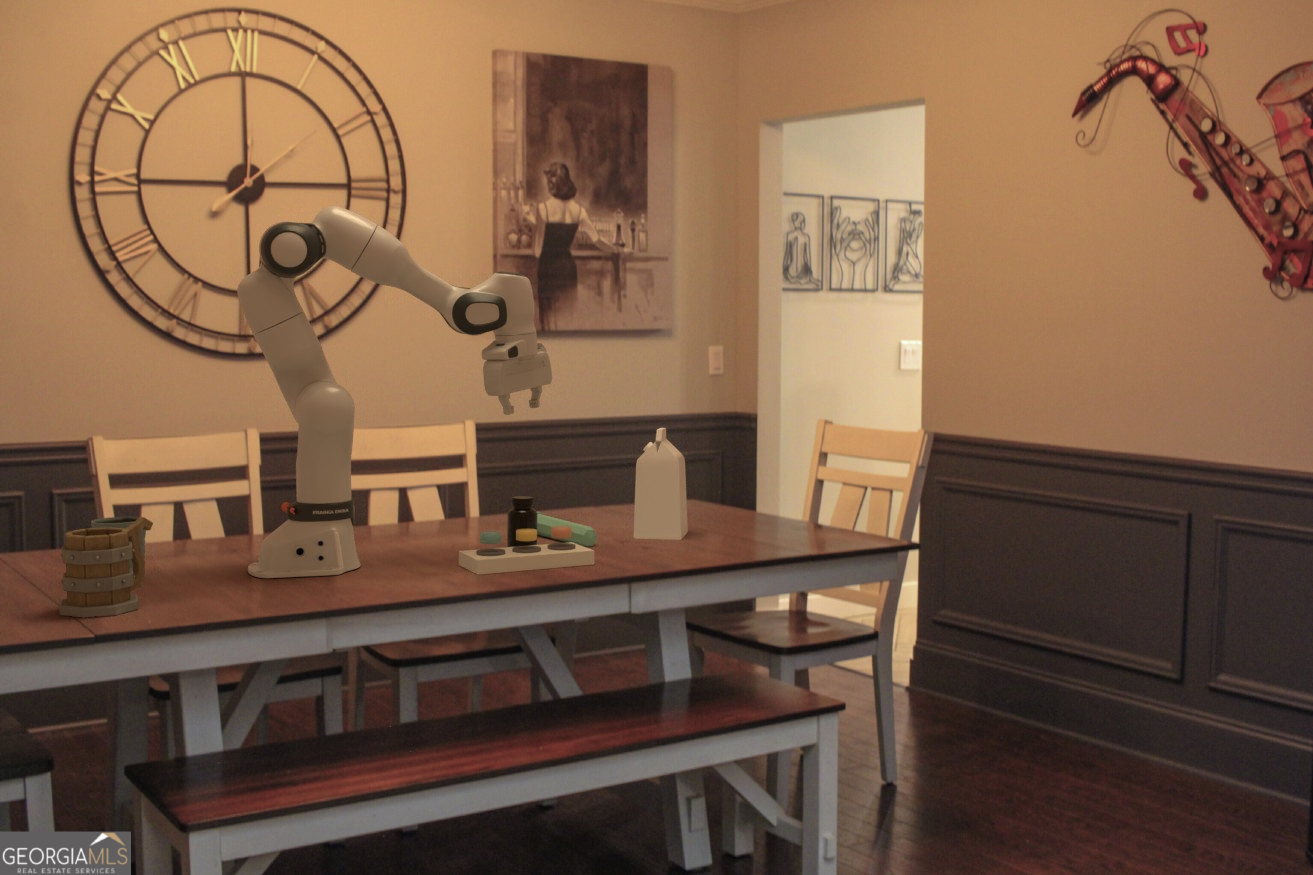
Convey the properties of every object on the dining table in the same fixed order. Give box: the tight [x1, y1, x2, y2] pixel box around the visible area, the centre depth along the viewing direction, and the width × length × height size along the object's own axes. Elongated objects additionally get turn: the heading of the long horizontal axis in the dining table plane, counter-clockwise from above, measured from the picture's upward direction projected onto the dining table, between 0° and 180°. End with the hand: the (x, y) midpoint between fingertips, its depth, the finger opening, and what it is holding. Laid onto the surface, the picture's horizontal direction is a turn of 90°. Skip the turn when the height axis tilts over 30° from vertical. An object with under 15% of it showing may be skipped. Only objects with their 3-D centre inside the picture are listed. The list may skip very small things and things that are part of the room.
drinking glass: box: [90, 516, 147, 569], centre depth 254 cm, size 10×10×12 cm
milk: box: [633, 427, 689, 541], centre depth 310 cm, size 12×12×26 cm
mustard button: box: [516, 529, 538, 541], centre depth 271 cm, size 4×4×2 cm
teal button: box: [479, 530, 502, 545], centre depth 267 cm, size 4×4×2 cm
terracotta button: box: [551, 526, 572, 539], centre depth 274 cm, size 4×4×2 cm
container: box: [536, 511, 598, 548], centre depth 304 cm, size 6×6×25 cm
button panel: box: [458, 542, 595, 576], centre depth 271 cm, size 26×12×4 cm, turn 117°
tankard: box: [59, 516, 154, 619], centre depth 229 cm, size 20×13×15 cm, turn 158°
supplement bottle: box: [506, 495, 538, 547], centre depth 289 cm, size 7×7×12 cm
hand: (522, 411), depth 276 cm, fingers open, 8 cm apart
